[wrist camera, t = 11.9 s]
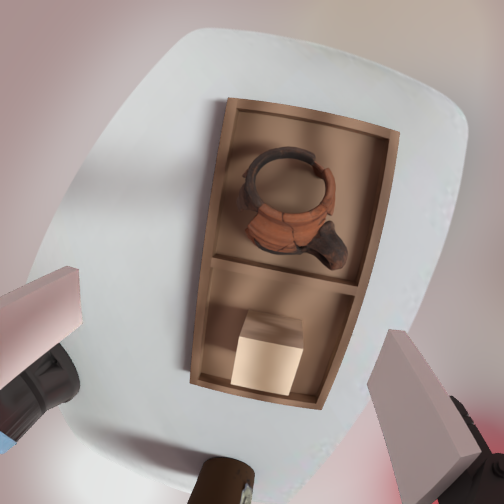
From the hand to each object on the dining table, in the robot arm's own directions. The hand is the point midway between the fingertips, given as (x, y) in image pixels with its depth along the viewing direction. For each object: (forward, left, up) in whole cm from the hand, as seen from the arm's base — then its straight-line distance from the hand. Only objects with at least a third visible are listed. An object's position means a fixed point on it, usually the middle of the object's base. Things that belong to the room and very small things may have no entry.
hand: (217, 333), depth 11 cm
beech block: (+3, -11, -20) cm, 23 cm away
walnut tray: (+3, -3, -20) cm, 21 cm away
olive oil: (+2, -42, -21) cm, 47 cm away
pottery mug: (+2, +3, -20) cm, 20 cm away
